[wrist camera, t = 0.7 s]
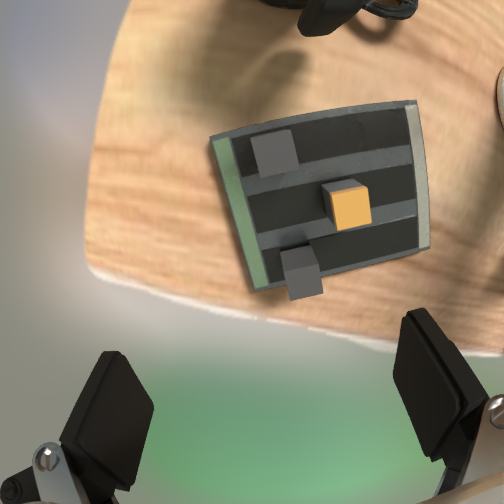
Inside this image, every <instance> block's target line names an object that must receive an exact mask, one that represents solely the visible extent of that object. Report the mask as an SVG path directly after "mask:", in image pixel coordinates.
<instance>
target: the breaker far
mask: <svg viewBox="0 0 504 504" xmlns="http://www.w3.org/2000/svg"><path fill="white" fill-rule="evenodd" d="M280 255H281V260H282V266H283V271H284V276H285V280H286V284H287V288H288V293H289V297H290V301H292V300H297V299H301V298H305V297H310V296H314V295H318V294H322V293H323V287H322V281H321V275H320V269H319V263H318V261H317V259H316V256H315V254H314V251H313V249H312V247H311V245H308V246H304V247H299V248H295V249H291V250H286V251H282V252H280Z"/></svg>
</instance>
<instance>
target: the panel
mask: <svg viewBox="0 0 504 504" xmlns="http://www.w3.org/2000/svg"><path fill="white" fill-rule="evenodd" d="M284 129H287V130H291V133H292V137H293V141H294V145H295V149H296V154H297V158H298V162H299V167H300V169H298V170H294V171H289V172H285V173H280V174H276V175H272V176H267V177H263V178H260V174H259V170H258V166H257V162H256V159H255V155H254V151H253V147H252V143H251V140H250V139H251V137H254V136H258V135H262V134H266V133H271V132H275V131H280V130H284ZM210 141H211V144H212V148H213V151H214V155H215V158H216V162H217V165H218V169H219V172H220V176H221V179H222V183H223V186H224V189H225V193H226V196H227V200H228V203H229V207H230V210H231V214H232V217H233V220H234V224H235V227H236V231H237V234H238V238H239V241H240V244H241V248H242V251H243V255H244V258H245V261H246V265H247V268H248V271H249V275H250V278H251V282H252V285H253V288H254V292H256V291H261V290H265V289H270V288H274V287H279V286H283V285H287V284H286V280H285V276H284V271H283V266H282V260H281V255H280V252H282V251H286V250H291V249H295V248H299V247H304V246H308V245H311V247H312V249H313V251H314V254H315V256H316V259H317V261H318V263H319V269H320V275H321V277H322V276H327V275H331V274H335V273H339V272H343V271H347V270H351V269H355V268H359V267H363V266H367V265H371V264H375V263H379V262H383V261H387V260H391V259H394V258H398V257H402V256H406V255H409V254H413V253H417V252H420V251H424V250H427V249H430V207H429V189H428V176H427V166H426V157H425V148H424V141H423V134H422V128H421V122H420V116H419V110H418V105H417V100H405V101H393V102H382V103H373V104H365V105H357V106H349V107H342V108H336V109H329V110H323V111H317V112H312V113H306V114H301V115H296V116H291V117H286V118H281V119H277V120H272V121H268V122H263V123H259V124H255V125H251V126H247V127H243V128H239V129H235V130H231V131H228V132H224V133H221V134H217V135H213V136H210ZM351 178H353V179H354V180H356V181H357V182H359V183H361V184H362V185H364V186H365V187H367V188H368V196H369V203H370V212H371V221H372V223H370V224H365V225H361V226H357V227H352V228H348V229H344V230H339V231H337V229H336V228H335V226H334V225H333V224H332V222H331V221H330V220H329V218H328V217H327V215H326V209H325V203H324V198H323V193H322V187H321V185H322V184H327V183H331V182H336V181H341V180H346V179H351Z"/></svg>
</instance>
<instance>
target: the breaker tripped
mask: <svg viewBox="0 0 504 504" xmlns="http://www.w3.org/2000/svg"><path fill="white" fill-rule="evenodd" d="M321 187H322V193H323V198H324V203H325V209H326V215H327V217H328V218H329V220H330V221H331V222H332V224H333V225H334V226H335V228H336V229H337V231H339V230H344V229H348V228H352V227H357V226H361V225H365V224H370V223H372V221H371V212H370V203H369V196H368V188H367V187H365V186H364V185H362V184H361V183H359V182H357V181H356V180H354V179H353V178H351V179H346V180H341V181H336V182H331V183H327V184H322V185H321Z"/></svg>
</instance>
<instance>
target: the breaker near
mask: <svg viewBox="0 0 504 504" xmlns="http://www.w3.org/2000/svg"><path fill="white" fill-rule="evenodd" d="M250 140H251V143H252V147H253V151H254V155H255V159H256V162H257V166H258V170H259V174H260V178H263V177H267V176H272V175H276V174H280V173H285V172H289V171H294V170H298V169H300V167H299V162H298V158H297V154H296V149H295V145H294V141H293V137H292V133H291V130H287V129H284V130H280V131H275V132H271V133H266V134H262V135H258V136H254V137H251V139H250Z"/></svg>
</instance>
